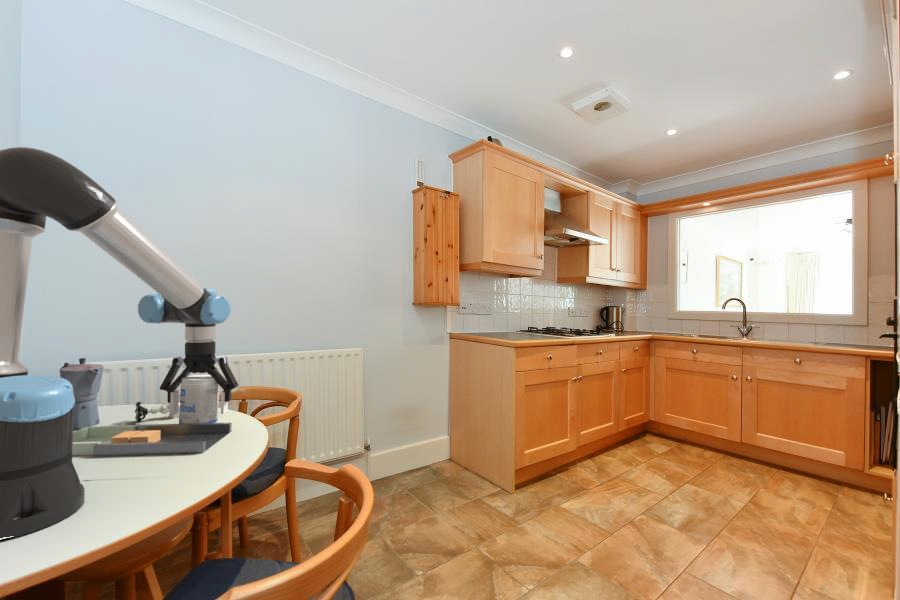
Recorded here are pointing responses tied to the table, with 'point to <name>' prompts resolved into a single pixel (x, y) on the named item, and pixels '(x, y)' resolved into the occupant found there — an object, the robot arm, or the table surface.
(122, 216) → the robot arm
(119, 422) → the table surface
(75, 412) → the moka pot
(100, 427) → the tray
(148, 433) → the orange flat block
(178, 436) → the tray
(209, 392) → the supplement tub
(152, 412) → the valve
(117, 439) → the chip
